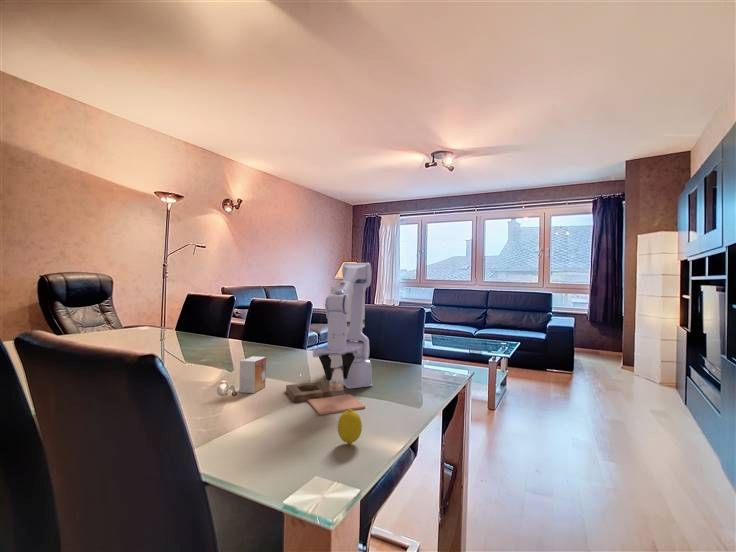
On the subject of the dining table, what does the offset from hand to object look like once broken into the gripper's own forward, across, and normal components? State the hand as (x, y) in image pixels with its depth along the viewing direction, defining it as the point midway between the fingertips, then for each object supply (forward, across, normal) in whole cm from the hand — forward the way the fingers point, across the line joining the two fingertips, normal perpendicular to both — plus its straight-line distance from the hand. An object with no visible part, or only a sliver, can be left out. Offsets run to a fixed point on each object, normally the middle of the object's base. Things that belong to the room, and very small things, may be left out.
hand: (336, 379), depth 110 cm
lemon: (+8, -6, -26) cm, 28 cm away
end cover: (+3, 0, 0) cm, 3 cm away
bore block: (+8, -5, +13) cm, 16 cm away
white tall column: (+8, +18, +37) cm, 42 cm away
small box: (+8, -21, +25) cm, 34 cm away
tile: (+8, 0, 0) cm, 8 cm away
